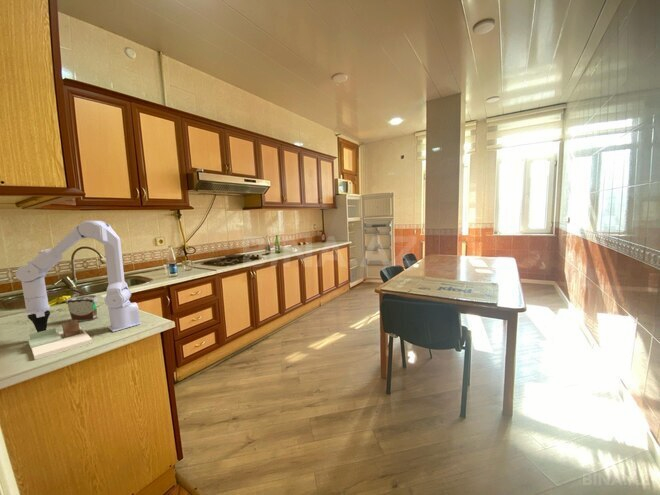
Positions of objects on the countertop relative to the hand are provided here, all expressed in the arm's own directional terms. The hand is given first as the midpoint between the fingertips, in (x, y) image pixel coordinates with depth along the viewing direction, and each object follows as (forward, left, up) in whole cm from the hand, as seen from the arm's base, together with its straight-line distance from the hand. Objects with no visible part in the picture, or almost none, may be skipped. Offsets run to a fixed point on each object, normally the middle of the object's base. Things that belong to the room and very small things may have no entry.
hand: (41, 331), depth 101 cm
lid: (0, +8, -1) cm, 8 cm away
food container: (-15, -15, -3) cm, 22 cm away
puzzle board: (-3, +11, -3) cm, 12 cm away
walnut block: (-7, +8, -3) cm, 11 cm away
